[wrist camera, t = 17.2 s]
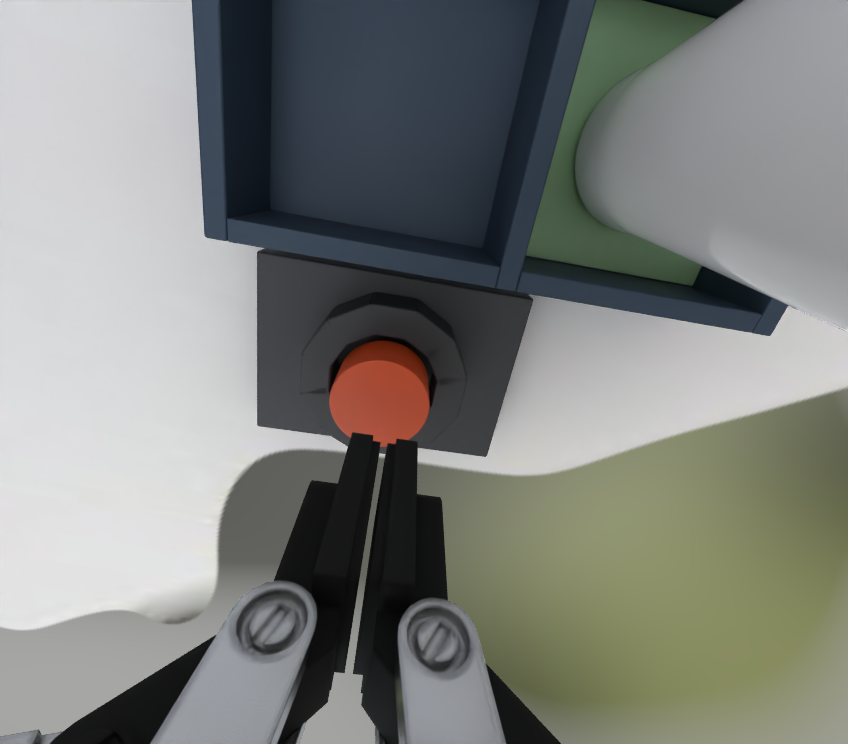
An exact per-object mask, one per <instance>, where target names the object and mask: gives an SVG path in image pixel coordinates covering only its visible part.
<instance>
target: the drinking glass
mask: <svg viewBox="0 0 848 744" xmlns="http://www.w3.org/2000/svg"><path fill="white" fill-rule="evenodd" d="M575 180H576V185H577V189H578V192H579V196H580V198H581V200H582V202H583V204H584V206H585V207H586V209H587V210H588V212H589V213H590V214H591V215H592V216H593V217H594V218H595V219H596V220H597V221H598V222H600V223H601V224H603V225H604V226H606V227H608V228H610V229H612V230H615V231H618V232H621V233H624V234H628V235H632V236H636V237H638V238H641V239H643V240H645V241H648V242H650V243H652V244H654V245H657V246H659V247H661V248H663V249H666V250H668V251H670V252H672V253H675V254H677V255H679V256H681V257H684V258H686V259H688V260H690V261H692V262H694V263H697V264H699V265H701V266H703V267H705V268H708V269H710V270H712V271H714V272H716V273H719V274H721V275H723V276H725V277H727V278H729V279H732V280H734V281H736V282H738V283H740V284H742V285H745V286H747V287H749V288H751V289H753V290H755V291H758V292H760V293H762V294H764V295H766V296H768V297H771V298H773V299H775V300H777V301H779V302H781V303H784V304H786V305H788V306H790V307H792V308H795V309H797V310H799V311H801V312H803V313H806V314H808V315H810V316H812V317H815V318H817V319H819V320H821V321H824V322H826V323H828V324H830V325H832V326H835V327H837V328H839V329H842V330H844V331H846V332H848V0H743V1H741V2H740V3H739V4H737V5H736V6H734V7H733V8H731V9H730V10H729V11H727V12H726V13H724V14H723V15H721V16H720V17H718V18H717V19H716V20H714V21H713V22H711V23H710V24H708V25H707V26H705V27H704V28H703V29H701V30H700V31H698V32H697V33H695V34H694V35H692V36H691V37H689V38H688V39H687V40H685V41H684V42H682V43H681V44H679V45H678V46H676V47H675V48H673V49H672V50H670V51H669V52H667V53H666V54H665V55H663V56H662V57H660V58H659V59H657V60H655V61H653V62H651V63H649V64H647V65H645V66H644V67H642V68H640V69H638V70H636V71H634V72H633V73H631V74H629V75H628V76H626V77H625V78H623V79H622V80H621V81H619V82H618V83H617V84H616V85H615V86H613V87H612V88H611V89H610V90H609V91H608V92H607V93H606V94H605V95H604V97H603V98H602V99H601V100H600V101H599V103H598V104H597V105H596V107H595V108H594V109H593V111H592V113H591V114H590V116H589V118H588V120H587V122H586V124H585V126H584V128H583V130H582V133H581V136H580V139H579V142H578V146H577V150H576V156H575Z"/></svg>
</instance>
